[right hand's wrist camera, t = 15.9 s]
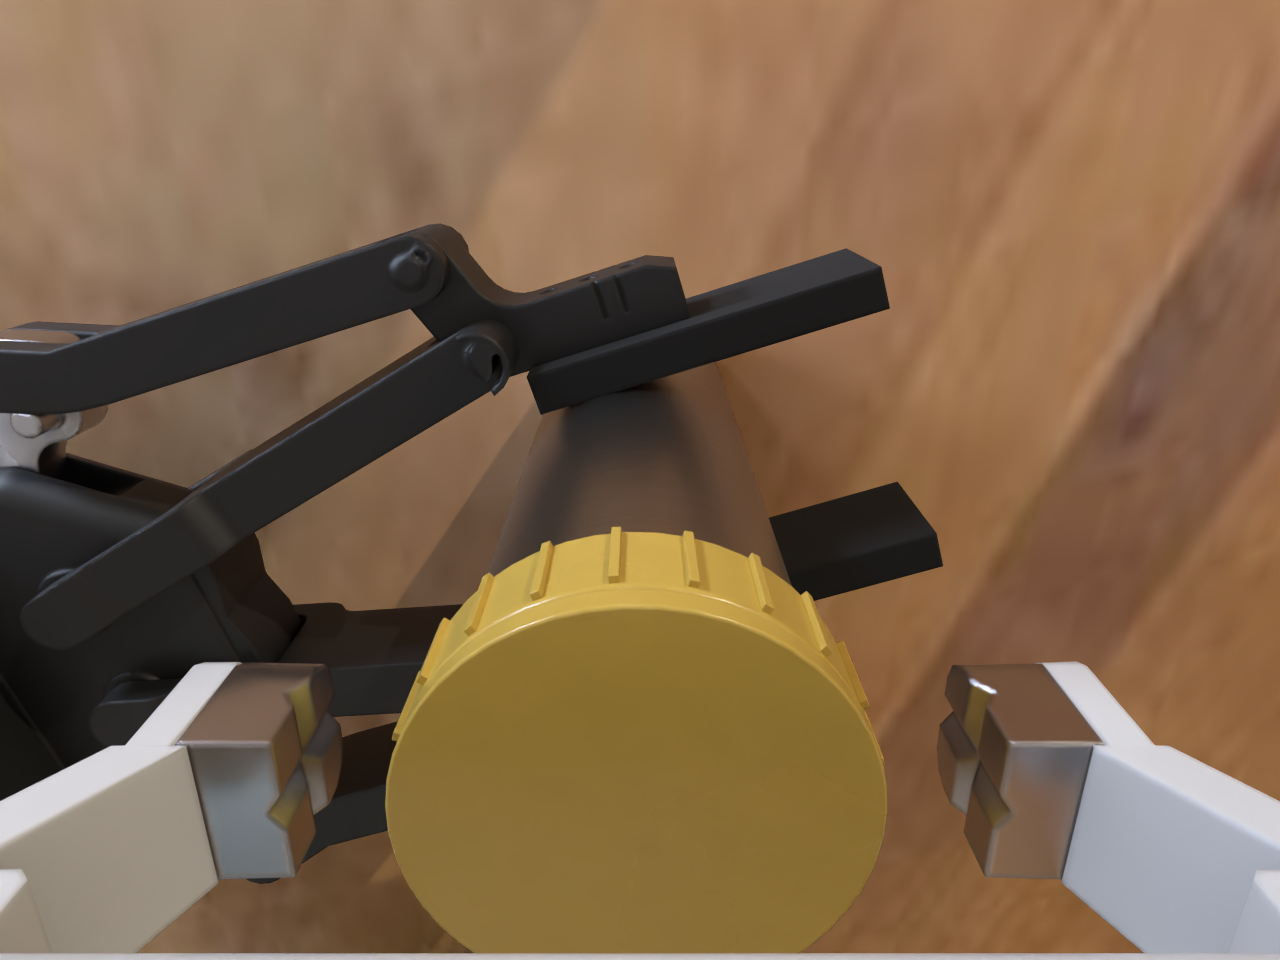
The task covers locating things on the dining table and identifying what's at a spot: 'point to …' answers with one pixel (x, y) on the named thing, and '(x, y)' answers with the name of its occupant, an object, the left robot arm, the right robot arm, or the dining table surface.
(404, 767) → the lid
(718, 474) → the jar
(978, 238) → the dining table surface
